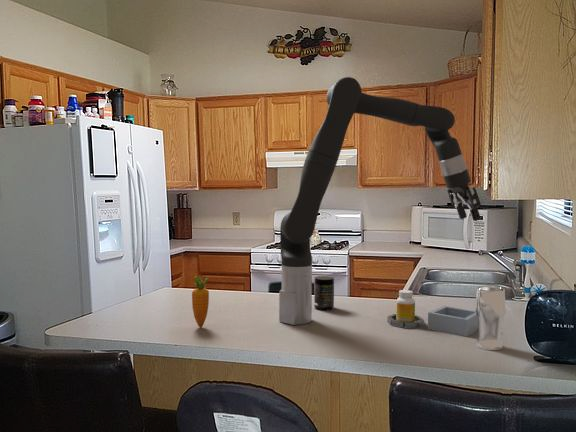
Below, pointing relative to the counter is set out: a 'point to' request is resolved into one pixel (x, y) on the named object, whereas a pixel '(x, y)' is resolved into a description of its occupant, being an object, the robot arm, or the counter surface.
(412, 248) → the counter surface
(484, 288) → the beer glass
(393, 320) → the collar
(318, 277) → the supplement container
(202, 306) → the carrot
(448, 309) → the bin
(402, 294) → the supplement bottle
